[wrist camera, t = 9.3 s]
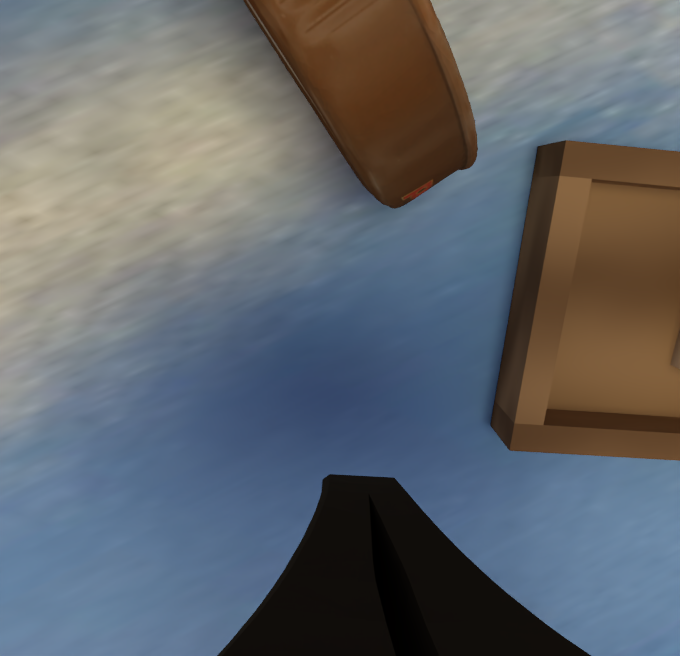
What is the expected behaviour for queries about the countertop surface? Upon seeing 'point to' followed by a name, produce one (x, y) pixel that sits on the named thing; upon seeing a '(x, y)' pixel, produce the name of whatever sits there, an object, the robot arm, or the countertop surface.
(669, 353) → the box
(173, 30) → the countertop surface
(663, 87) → the countertop surface
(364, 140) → the tin
